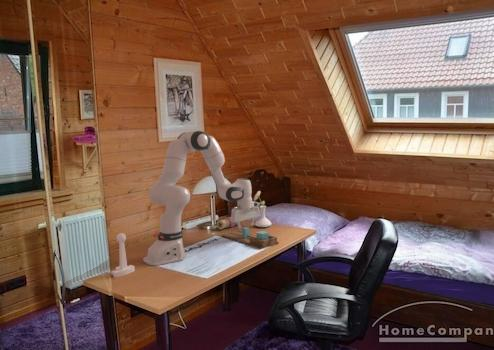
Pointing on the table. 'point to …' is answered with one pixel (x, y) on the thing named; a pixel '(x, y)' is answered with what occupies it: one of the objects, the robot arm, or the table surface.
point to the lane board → (252, 240)
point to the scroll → (226, 223)
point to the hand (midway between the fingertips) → (245, 226)
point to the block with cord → (260, 235)
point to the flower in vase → (262, 214)
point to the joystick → (122, 259)
